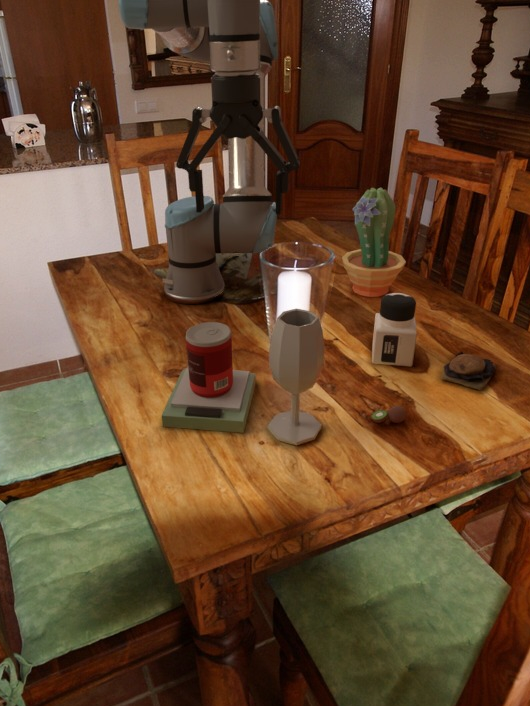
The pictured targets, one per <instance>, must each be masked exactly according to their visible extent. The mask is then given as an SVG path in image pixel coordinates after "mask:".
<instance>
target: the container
mask: <svg viewBox="0 0 530 706" xmlns="http://www.w3.org/2000/svg"><path fill="white" fill-rule="evenodd" d="M416 306H417V301H416V299H415V298H414V297H413V296H411V295H409V294H406V293H403V292H402V293H401V292H392V293H387V294H385V295H383V296H382V297H381V299H380V306H379V307H380V308H379V312H376V313H375V317H374V323H373V324H374V325H373V336H372V344H371V347H372V349H371V363H372V364H374V365H384V366H385V365H386V366H398V367H409V368H411V367H413V365H414V364H413V363H414V356H415V350H416V343H417V337H418V330H417V329H418V328H417V322H416V315H415V313H416Z"/></svg>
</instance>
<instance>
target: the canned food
mask: <svg viewBox="0 0 530 706" xmlns="http://www.w3.org/2000/svg"><path fill="white" fill-rule="evenodd" d="M232 338H233V337H232V329H231V328H230V326H228V325H226V324H225V323H222V322H216V321H205V322H200V323H197V324H195V325H192V326H190V327H189V328H188V329H187V330H186V332H185V344H186V345H185V347H186V356H187V357H186V358H187V367H188V369H189V380H190V387H191V389H192V391H193V392H194V393H195V394H196V395H198V396H201V397H206V398H213V397H218V396H221V395H224V394H225V393H227V392H228V391H229V390H230V389H231V387H232V384H233V370H234V369H233V366H234V365H233V363H234V362H233V340H232Z"/></svg>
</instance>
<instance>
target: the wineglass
mask: <svg viewBox="0 0 530 706" xmlns="http://www.w3.org/2000/svg"><path fill="white" fill-rule="evenodd" d="M321 324H322V323H321V321H320V318H319V316H318V315H316V314H315V313H314V312H313V311H311V310H307V309H301V308H293V309H289V310H288V309H287V310H285V311H282V312H281V314H279V316H277V317H276V320H275V323H274V326H273V329H272V332H271V339H270V344H269V349H268V367H269V369H270V372H271V375H272V379H273V381H274V382H275V383H276V384H277V385H278V386H279V387H280V388H281V389H283V390H285V391H286V392H288V393H289V394H290V409H289V410H286V411H282V412H279V413H276V414H275V415H274V417H272V419H271V420H270V421H269V423H268V424H267V426H266V429H267V430H268V431H269V433H270V434H272V436H273V437H274V438H275V439H276V441H280V442H283V443H286V444H290V445H293V446H300V445H302V444H306V443H309V442H311V441H314V440H315V439H316V438H317V436H318V434H319V433H320V431H321V429H322V428H323V425H322V424H321V422H320V421H318V419H316V417H314V416H313V414H312V413H308V412H306V411H305V412H304V411H301V410H300V406H301V405H300V403H301V402H300V400H301V398H300V397H301V394H303V393H305V392H307V391H308V390H310V389H312V388H313V387H314V386H315V385H316V383H317V382H318V380H319V378H320V376H321V373H322V370H323V368H324V364H325V352H326V351H325V350H326V348H325V340H324V332H323V327H322V325H321Z"/></svg>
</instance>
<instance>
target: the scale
mask: <svg viewBox="0 0 530 706" xmlns="http://www.w3.org/2000/svg"><path fill="white" fill-rule="evenodd" d="M256 384H257V383H256V373H254V372H253V373H252V372H250V370H238V369H233V384H232V387H231V389H230V390H229V391H228V392H227V393H225V394H224V395H221V396H218V397H213V398H206V397H201V396H198V395H196V394H195V393H194V392H193V391H192V389H191V387H190V380H189V369H188V366H186V368H183V369H182V370H181V372H180V374H179V376H178V378H177V381H176V383H175V385H174V387H173V389H172V392H171V394H170V396H169V399H168V400H167V403H166V405H165V407H164V409H163V410H162V413H161V424H162V428H174V429H189V430H203V431H213V432H225V433H229V432H230V433H237V434H244V433H245V429H246V425H247V421H248V417H249V414H250V413H249V412H250V410H251V404H252V400H253V396H254V393H255V387H256Z"/></svg>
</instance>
